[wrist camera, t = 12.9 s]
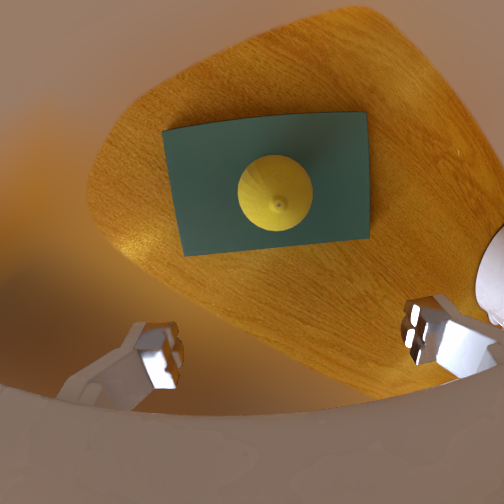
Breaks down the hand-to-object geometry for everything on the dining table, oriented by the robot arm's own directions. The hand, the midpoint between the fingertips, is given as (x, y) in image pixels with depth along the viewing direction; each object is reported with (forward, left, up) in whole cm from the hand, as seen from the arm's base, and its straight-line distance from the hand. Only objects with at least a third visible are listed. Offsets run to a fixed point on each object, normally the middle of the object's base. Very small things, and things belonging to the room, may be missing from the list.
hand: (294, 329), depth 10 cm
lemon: (0, -2, -18) cm, 18 cm away
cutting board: (0, -1, -20) cm, 20 cm away
